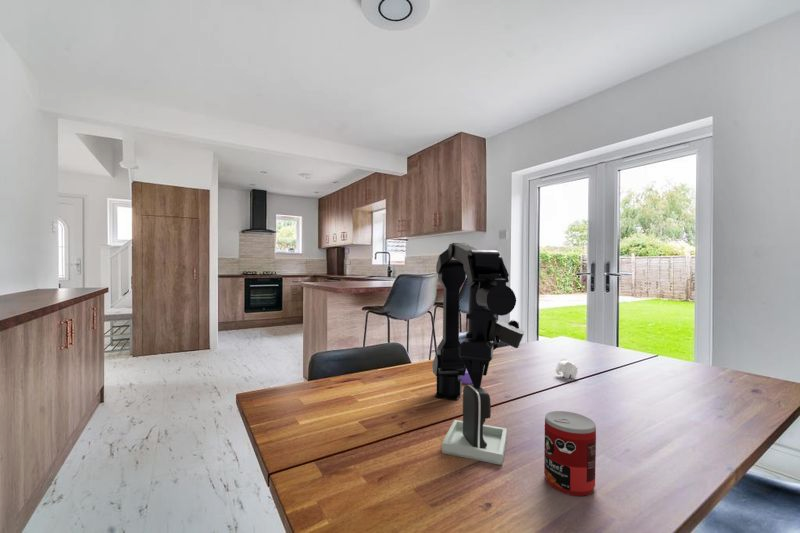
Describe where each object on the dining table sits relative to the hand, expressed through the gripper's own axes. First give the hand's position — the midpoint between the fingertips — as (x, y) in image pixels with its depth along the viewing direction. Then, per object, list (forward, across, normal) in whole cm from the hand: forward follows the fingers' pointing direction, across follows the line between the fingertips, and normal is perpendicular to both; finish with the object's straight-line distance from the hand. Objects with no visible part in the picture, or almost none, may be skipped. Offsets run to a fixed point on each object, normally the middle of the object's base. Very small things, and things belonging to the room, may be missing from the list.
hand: (480, 381), depth 75 cm
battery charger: (+12, -2, 0) cm, 13 cm away
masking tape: (+14, +42, +12) cm, 45 cm away
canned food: (+13, -9, -17) cm, 23 cm away
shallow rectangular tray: (+13, -2, 0) cm, 13 cm away
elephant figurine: (+13, +57, -21) cm, 62 cm away
